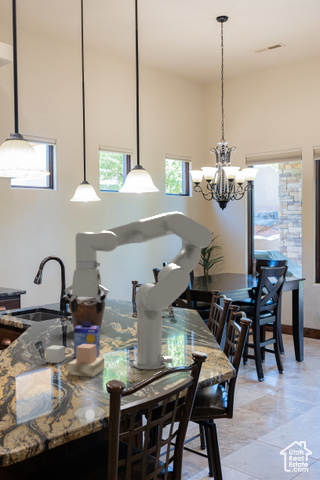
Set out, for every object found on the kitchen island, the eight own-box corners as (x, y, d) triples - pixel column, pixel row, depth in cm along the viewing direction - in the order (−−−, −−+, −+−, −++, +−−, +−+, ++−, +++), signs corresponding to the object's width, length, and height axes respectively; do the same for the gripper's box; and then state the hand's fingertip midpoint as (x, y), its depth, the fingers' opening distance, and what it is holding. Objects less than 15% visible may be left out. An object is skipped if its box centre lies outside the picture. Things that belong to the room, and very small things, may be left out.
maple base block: (104, 368, 180) (104, 358, 180) (93, 376, 171) (93, 365, 171) (79, 366, 183) (79, 356, 183) (67, 374, 174) (67, 363, 174)
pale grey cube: (64, 359, 194) (64, 346, 193) (58, 363, 188) (58, 349, 188) (52, 358, 195) (52, 345, 195) (45, 362, 190) (45, 348, 190)
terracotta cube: (96, 359, 179) (96, 344, 179) (90, 363, 174) (90, 348, 173) (82, 358, 180) (82, 343, 180) (76, 362, 175) (76, 347, 175)
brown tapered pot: (60, 333, 242) (60, 297, 241) (84, 326, 260) (84, 293, 259) (89, 337, 234) (89, 300, 233) (111, 330, 251) (112, 295, 251)
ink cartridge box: (73, 357, 196) (73, 322, 196) (76, 354, 202) (76, 319, 202) (97, 358, 196) (97, 322, 195) (99, 354, 201) (99, 320, 201)
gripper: (112, 265, 177) (112, 311, 178) (69, 264, 182) (70, 309, 183) (104, 266, 170) (104, 315, 171) (60, 266, 175) (60, 313, 175)
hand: (86, 312), depth 177 cm, fingers open, 9 cm apart
